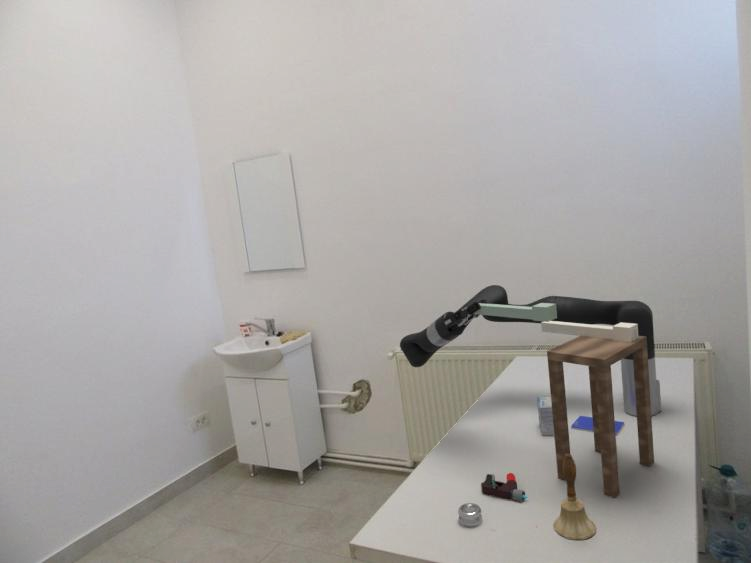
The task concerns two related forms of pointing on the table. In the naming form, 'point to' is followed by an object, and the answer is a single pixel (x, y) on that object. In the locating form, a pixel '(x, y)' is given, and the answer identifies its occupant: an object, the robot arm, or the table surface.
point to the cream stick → (594, 330)
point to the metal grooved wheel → (470, 515)
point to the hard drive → (587, 424)
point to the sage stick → (520, 311)
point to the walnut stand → (601, 400)
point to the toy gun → (503, 488)
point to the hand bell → (573, 509)
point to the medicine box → (545, 415)
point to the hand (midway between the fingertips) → (482, 303)
